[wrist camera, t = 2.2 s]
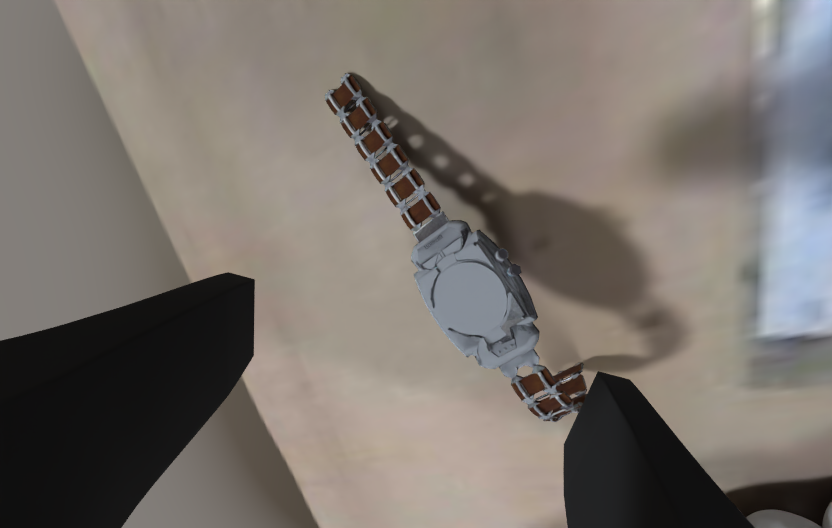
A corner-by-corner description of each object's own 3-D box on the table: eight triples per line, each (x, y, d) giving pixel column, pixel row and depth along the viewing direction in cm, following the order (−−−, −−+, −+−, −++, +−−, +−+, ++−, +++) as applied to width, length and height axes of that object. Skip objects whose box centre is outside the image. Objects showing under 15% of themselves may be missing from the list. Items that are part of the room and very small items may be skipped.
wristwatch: (543, 397, 20) (522, 465, 15) (363, 124, 21) (293, 112, 16) (621, 362, 18) (623, 425, 14) (422, 69, 19) (363, 38, 15)
